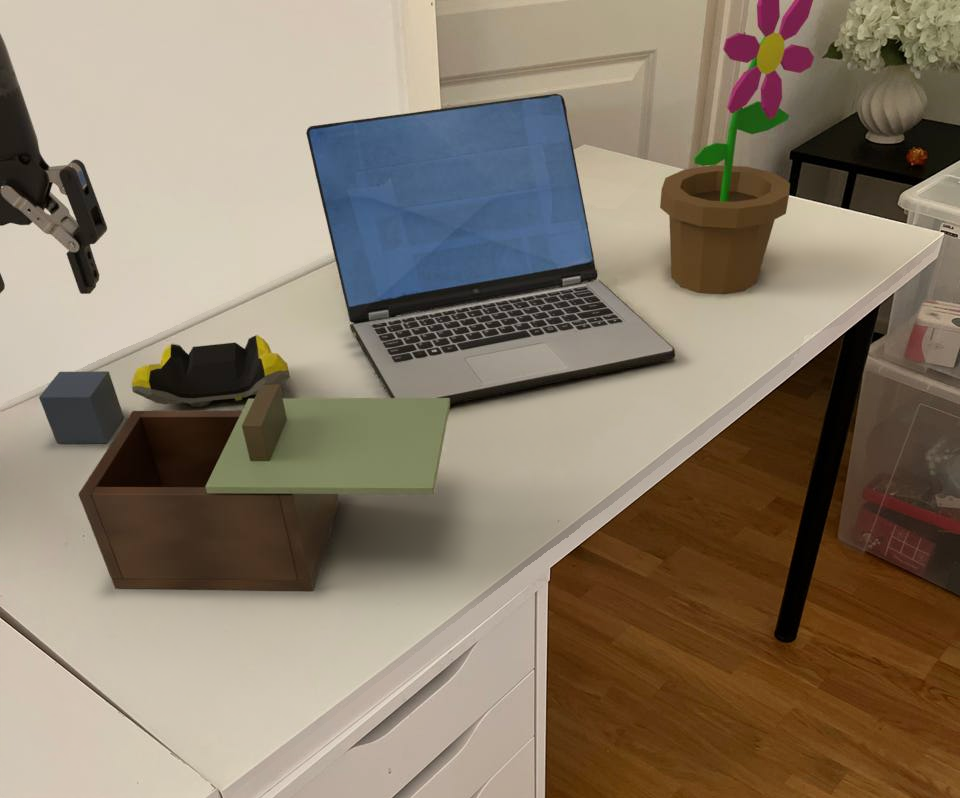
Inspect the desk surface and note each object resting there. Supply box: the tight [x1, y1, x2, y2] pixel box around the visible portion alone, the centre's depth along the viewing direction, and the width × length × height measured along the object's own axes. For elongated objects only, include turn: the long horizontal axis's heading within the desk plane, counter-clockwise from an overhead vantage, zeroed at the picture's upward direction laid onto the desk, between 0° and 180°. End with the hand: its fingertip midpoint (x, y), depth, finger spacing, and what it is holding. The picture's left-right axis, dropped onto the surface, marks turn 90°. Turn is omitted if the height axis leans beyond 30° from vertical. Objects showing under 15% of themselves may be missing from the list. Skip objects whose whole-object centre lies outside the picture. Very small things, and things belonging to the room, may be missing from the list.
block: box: [38, 370, 125, 444], centre depth 93 cm, size 5×5×5 cm
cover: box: [205, 385, 451, 495], centre depth 72 cm, size 16×13×4 cm
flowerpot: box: [659, 0, 815, 295], centre depth 105 cm, size 14×14×30 cm
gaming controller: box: [131, 334, 291, 408], centre depth 97 cm, size 15×6×10 cm
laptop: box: [306, 93, 676, 405], centre depth 102 cm, size 30×32×18 cm
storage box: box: [78, 409, 340, 592], centre depth 77 cm, size 16×12×9 cm
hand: (42, 291), depth 86 cm, fingers open, 8 cm apart
